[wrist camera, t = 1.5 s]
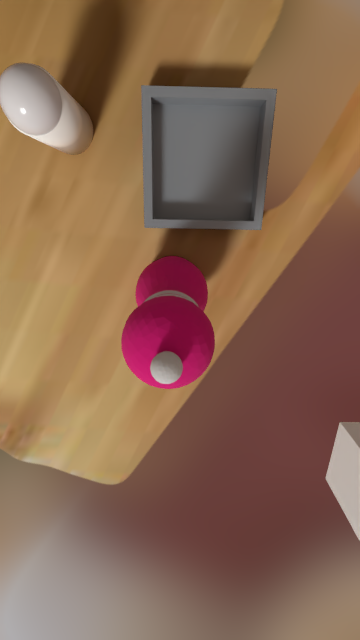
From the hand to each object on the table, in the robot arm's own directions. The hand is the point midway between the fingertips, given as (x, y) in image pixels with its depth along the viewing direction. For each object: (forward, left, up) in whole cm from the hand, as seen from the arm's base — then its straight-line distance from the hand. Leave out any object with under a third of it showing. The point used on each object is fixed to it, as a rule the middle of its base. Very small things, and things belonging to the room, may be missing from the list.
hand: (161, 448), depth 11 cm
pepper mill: (0, 0, -25) cm, 25 cm away
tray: (-12, +3, -25) cm, 28 cm away
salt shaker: (-15, -10, -25) cm, 31 cm away
